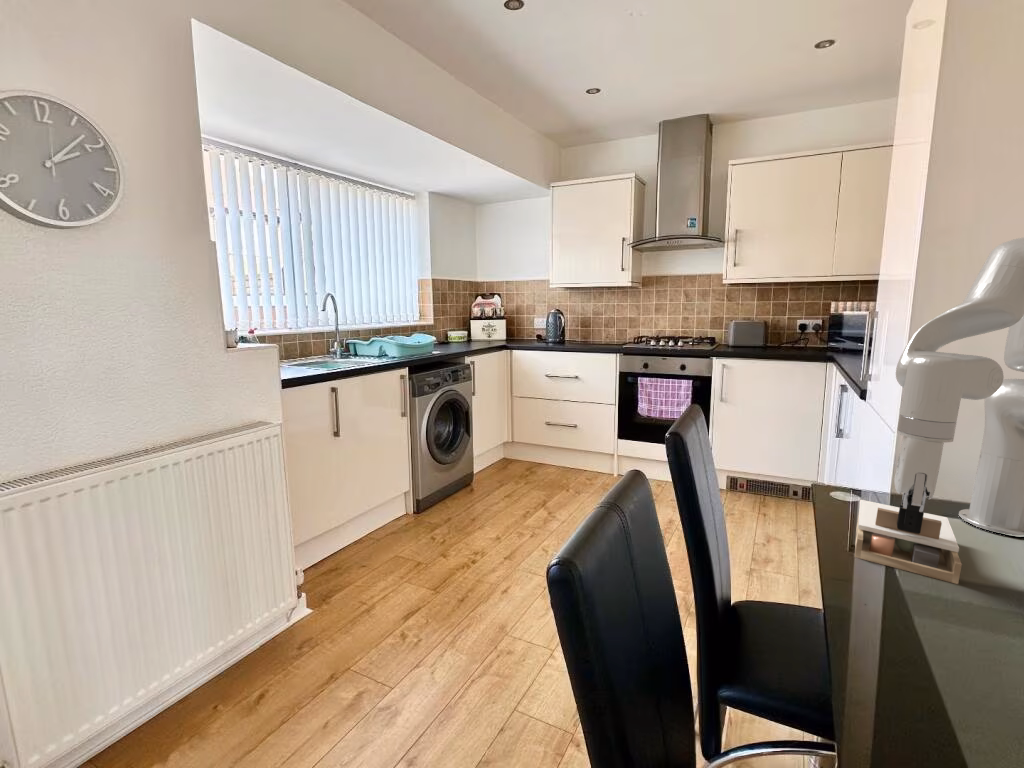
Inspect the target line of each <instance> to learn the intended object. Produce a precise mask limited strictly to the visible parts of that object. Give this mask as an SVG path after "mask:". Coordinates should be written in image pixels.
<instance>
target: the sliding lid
mask: <svg viewBox="0 0 1024 768" xmlns="http://www.w3.org/2000/svg"><path fill="white" fill-rule="evenodd" d="M858 508H859V509H858V510H859V511H858V514H859V524H858V529H861V530H865V531H870V532H874V533H878V534H882V535H887V536H891V537H895V538H899V539H903V540H908V541H912V542H916V543H920V544H925V545H929V546H933V547H937V548H942V549H946V550H950V551H954V552H957V553H960V552H959V551H960V547H959V544H958V542H957V539H956V536H955V534H954V531H953V529H952V526H951V524H950V521H949V518H948V517H946V516H942V515H937V514H932V513H927V512H924V515H923V520H922V526H921V532H920V533H919V534H916V533H912V532H907V531H903V530H899V529H898V528H897V520H898V514H899V508H900V506H899V507H898V506H893V505H889V504H885V503H880V502H879V503H878V502H875V501H869V500H865V499H859V507H858Z"/></svg>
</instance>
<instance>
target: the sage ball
mask: <svg viewBox="0 0 1024 768" xmlns="http://www.w3.org/2000/svg"><path fill="white" fill-rule="evenodd" d="M895 543H896V545H897V547H898V548H899V549H900V550H902V551H905V552H912V551H913V546H914V544H917V543H916V542H912V541H908V540H903V539H899V538H896V539H895Z"/></svg>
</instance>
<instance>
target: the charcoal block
mask: <svg viewBox="0 0 1024 768" xmlns="http://www.w3.org/2000/svg"><path fill="white" fill-rule="evenodd" d="M911 562H914V563H918V564H922V565H926V566H930V567H934V568H937V567H938V562H939V553H938V549H935V548H931V547H927V546H923V545H918V544H914V546H913V552H912V557H911Z"/></svg>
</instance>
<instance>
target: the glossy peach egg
mask: <svg viewBox="0 0 1024 768" xmlns="http://www.w3.org/2000/svg"><path fill="white" fill-rule="evenodd" d="M894 543H895V539H894V538H892V537H890V536H887V535H882V534H878V533H873V534H872V536H871V542H870V548H869V551H871V552H875V553H878V554H882V555H886V556H890V557H892V555H893V549H894Z"/></svg>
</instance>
